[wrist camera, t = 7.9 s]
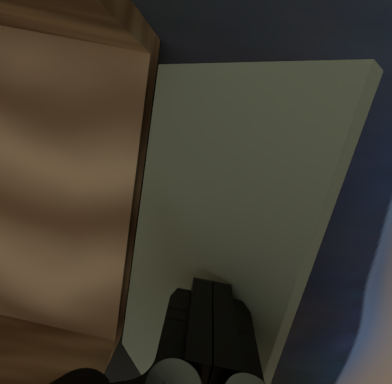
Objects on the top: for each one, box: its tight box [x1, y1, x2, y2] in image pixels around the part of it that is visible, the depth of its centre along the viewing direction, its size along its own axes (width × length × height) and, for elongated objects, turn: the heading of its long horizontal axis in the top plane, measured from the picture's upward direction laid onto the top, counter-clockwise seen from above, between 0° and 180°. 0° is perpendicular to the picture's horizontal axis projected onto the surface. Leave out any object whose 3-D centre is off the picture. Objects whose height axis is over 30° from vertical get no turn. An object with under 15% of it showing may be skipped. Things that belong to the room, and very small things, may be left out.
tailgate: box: [122, 59, 383, 384], centre depth 12 cm, size 17×2×9 cm
